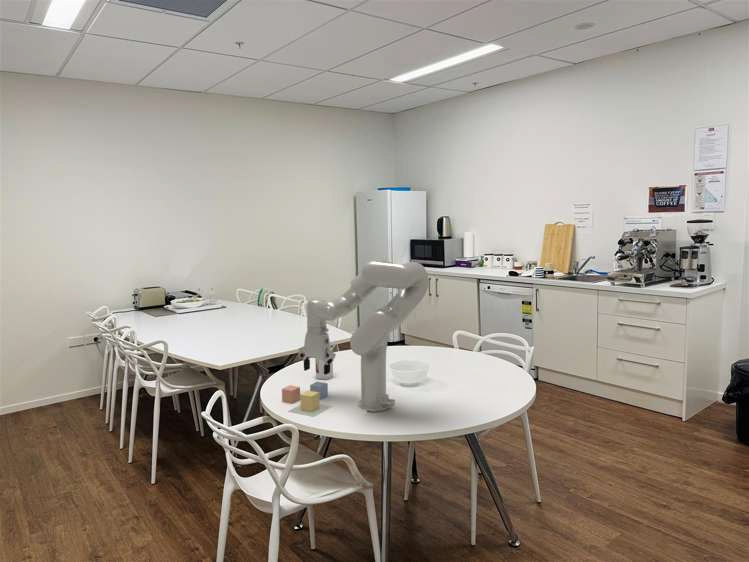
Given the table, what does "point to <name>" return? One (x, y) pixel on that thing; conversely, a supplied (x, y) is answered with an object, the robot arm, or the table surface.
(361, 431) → the table surface
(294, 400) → the brick
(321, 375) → the milk bottle
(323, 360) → the robot arm
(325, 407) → the build plate
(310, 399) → the brick base
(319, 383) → the brick
